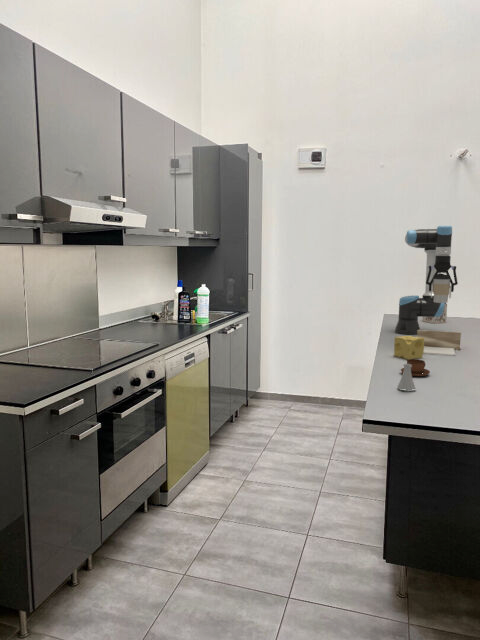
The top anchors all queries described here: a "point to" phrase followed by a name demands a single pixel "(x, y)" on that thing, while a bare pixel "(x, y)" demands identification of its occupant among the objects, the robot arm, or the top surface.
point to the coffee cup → (441, 288)
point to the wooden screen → (440, 339)
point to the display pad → (439, 351)
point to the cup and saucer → (417, 367)
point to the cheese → (409, 347)
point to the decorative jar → (437, 319)
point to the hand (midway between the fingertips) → (440, 297)
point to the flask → (406, 378)
